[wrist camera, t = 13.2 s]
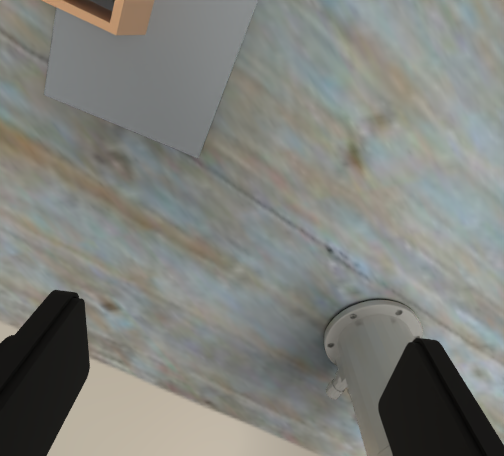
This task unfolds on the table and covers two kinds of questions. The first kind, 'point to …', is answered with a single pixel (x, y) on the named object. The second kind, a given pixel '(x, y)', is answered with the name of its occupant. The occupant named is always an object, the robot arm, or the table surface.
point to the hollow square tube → (111, 14)
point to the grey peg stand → (151, 68)
